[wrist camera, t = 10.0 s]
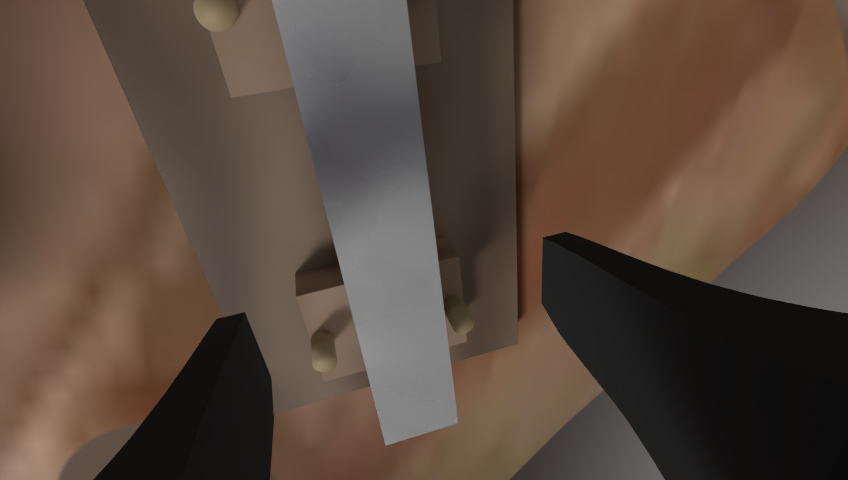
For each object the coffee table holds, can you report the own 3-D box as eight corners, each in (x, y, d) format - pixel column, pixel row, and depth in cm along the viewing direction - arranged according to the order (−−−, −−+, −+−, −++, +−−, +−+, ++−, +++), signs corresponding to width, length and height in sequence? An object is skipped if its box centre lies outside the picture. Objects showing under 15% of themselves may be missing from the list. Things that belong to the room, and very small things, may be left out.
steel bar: (423, 336, 22) (457, 422, 17) (365, 353, 21) (385, 445, 17) (359, -73, 13) (394, -99, 9) (261, -61, 13) (250, -82, 9)
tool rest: (267, 397, 25) (264, 473, 21) (11, -201, 12) (-107, -280, 9) (509, 329, 27) (546, 386, 23) (494, -232, 15) (566, -305, 11)
